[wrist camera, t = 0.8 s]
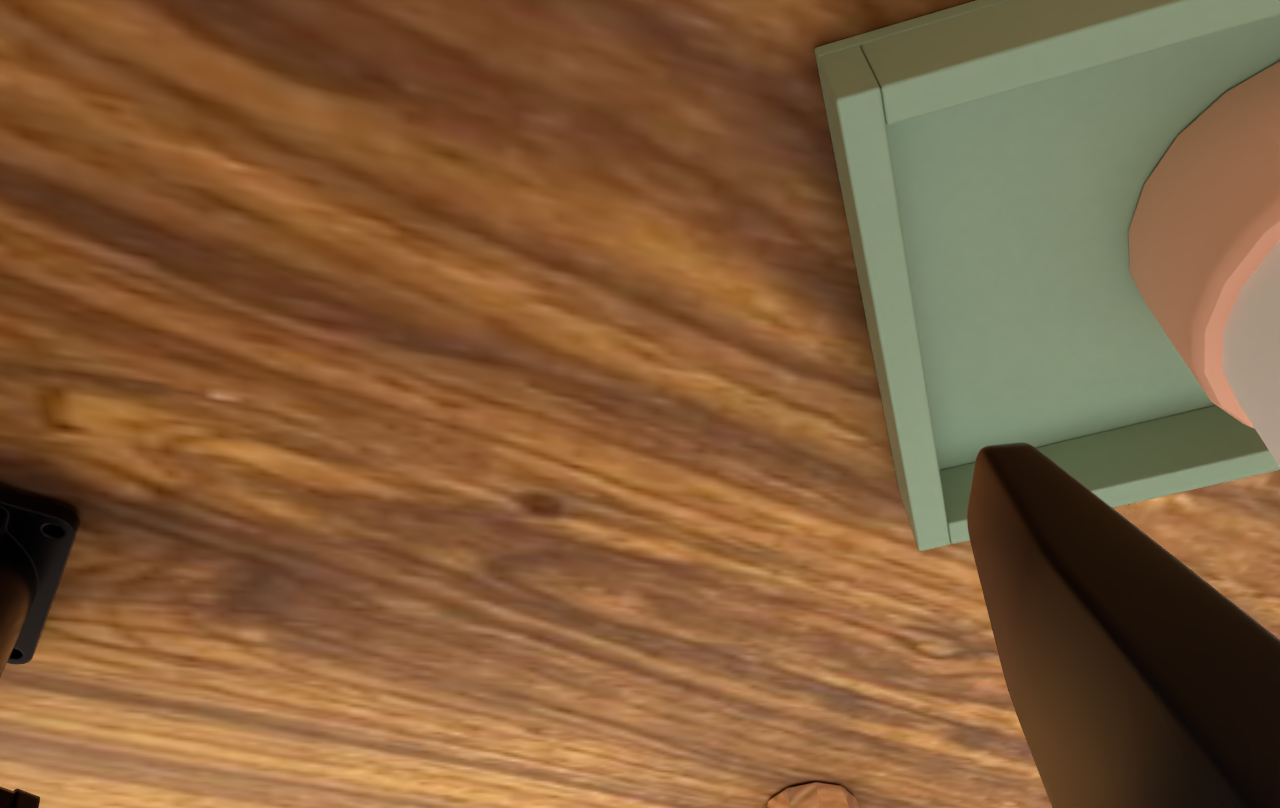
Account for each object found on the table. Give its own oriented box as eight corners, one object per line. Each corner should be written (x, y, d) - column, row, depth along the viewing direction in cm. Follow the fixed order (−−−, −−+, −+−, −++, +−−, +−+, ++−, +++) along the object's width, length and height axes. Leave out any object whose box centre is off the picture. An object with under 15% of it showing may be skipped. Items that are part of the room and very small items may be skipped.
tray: (898, 488, 29) (919, 553, 28) (813, 46, 21) (835, 100, 20) (1538, 338, 27) (1602, 398, 25) (1717, -220, 19) (1827, -186, 17)
